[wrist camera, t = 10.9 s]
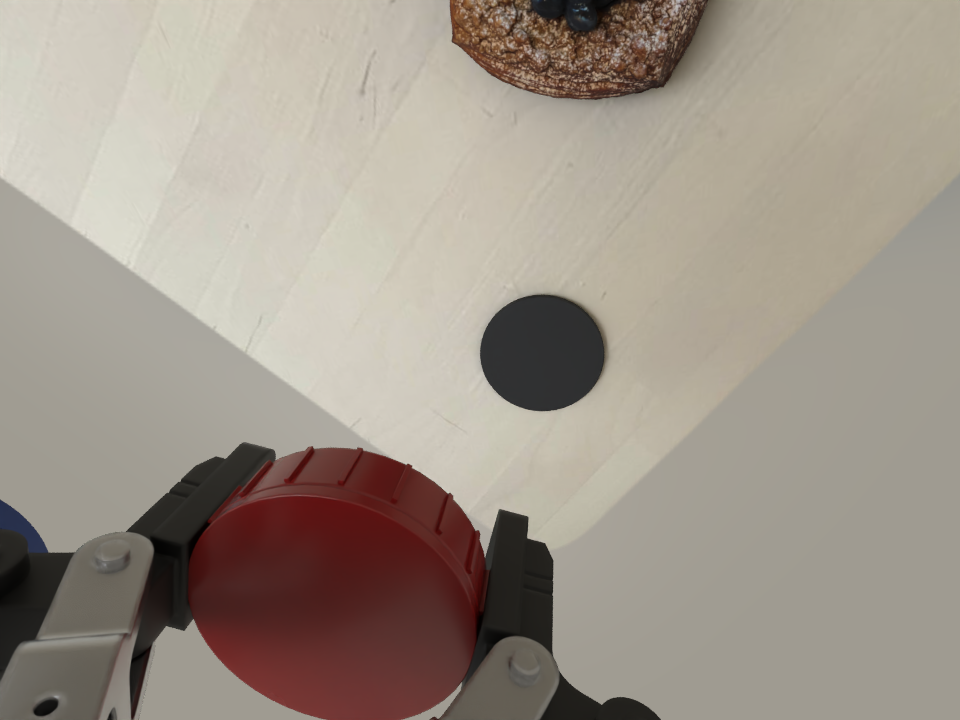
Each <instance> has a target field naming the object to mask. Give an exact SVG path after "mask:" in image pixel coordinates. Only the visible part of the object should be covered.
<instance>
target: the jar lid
mask: <svg viewBox="0 0 960 720" xmlns="http://www.w3.org/2000/svg"><path fill="white" fill-rule="evenodd" d="M208 523H209V524H210V525H209V526H208V527H207V528H206V530H205V531H204V532H203V534H202V535H201V537H200V538H199V540H198V541H197V543H196V544H195V547H194V549H193V551H192V554H191V556H190V560H189V575H188V603H189V606H190V610H191V613H192V616H193V619H194V621H195V623H196V625H197V628H198V630H199V632H200V633H201V635H202V637H203V638H204V640H205V642H206V643H207V645H208V646H209V647H210V649H211V650H212V651H213V653H214V654H215V655H216V656H217V657H218V659H219V660H221V662H222V663H223V664H224V665H225V666H226V667H227V668H228V669H229V670H230V671H231V672H232V673H234V674H235V675H236V676H237V677H238V678H239V679H241V680H242V681H243V682H244V683H246V684H247V685H249V686H250V687H251V688H253V689H254V690H256V691H258V692H259V693H261V694H262V695H264V696H266V697H267V698H269V699H271V700H273V701H275V702H277V703H279V704H281V705H283V706H286V707H288V708H290V709H293V710H295V711H298V712H301V713H303V714H307V715H310V716H314V717H318V718H321V719H326V720H401V719H405V718H409V717H412V716H415V715H418V714H420V713H422V712H425V711H427V710H429V709H431V708H432V707H434V706H436V705H437V704H439V703H440V702H442V701H443V700H445V699H446V698H447V697H448V696H449V695H450V694H451V693H452V692H454V691H455V690H456V688H457V687H458V686H459V685H460V683H461V682H462V681H463V680H464V678H465V676H466V674H467V672H468V669H469V666H470V663H471V659H472V656H473V653H474V649H475V646H476V642H477V638H478V631H479V625H480V619H481V615H482V614H483V611H484V604H485V598H486V591H487V585H488V578H489V572H490V570H486V562H485V557H484V551H483V549H482V546H481V543H480V540H479V539H480V532H479V531H478V530H477V531H475V529H474V527H473V526H472V524H471V522H470V520H469V519H468V518H467V516H466V514H465V513H464V512H463V510H462V509H461V507H460V506H459V505H458V504H457V503H456V502H455V501H454V500H453V495H452V494H451V493H449V494H448V493H446V492H445V491H444V490H443V489H442V488H441V487H440V486H438V485H437V484H436V483H435V482H433V481H432V480H430V479H429V478H428V477H426V476H425V475H423V474H422V473H420V472H418V471H417V470H415V469H413V468H412V465H410V464H407V465H405V464H403V463H401V462H398V461H396V460H393V459H391V458H388V457H386V456H383V455H379V454H375V453H372V452H368V451H363V449H362V448H357V450H356V449H350V448H319V449H314V448H313V446H311V447H308V448H307V449H306V450H305V451H301V452H296V453H293V454H291V455H288V456H285V457H282V458H280V459H278V460H276V461H274V462H271V460H268V461H266V462H265V463H264V464H263V466H262V467H261V468H260V469H259V470H258V471H257V473H256V474H254V475H253V477H252V478H251V479H250V480H249V481H248V482H247V483H246V484H245V485H244V486H243V487H241V486H240V485H239V486H238V487H237V488H236V489H235V491H234V492H233V493H232V494H231V495H230V496H229V497H228V498H227V500H226V501H225V502H224V503H223V504H222V505H221V506H220V507H219V509H218V510H217V511H216V512H215V513H214V514H213V515H212V516H211V518H210V519H209V520H208Z"/></svg>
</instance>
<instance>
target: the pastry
mask: <svg viewBox="0 0 960 720" xmlns="http://www.w3.org/2000/svg"><path fill="white" fill-rule="evenodd" d="M707 2H708V0H450V14H451V22H452V34H453V36H452V42H453V43H454V44H456V45H458V46H459V47H460V48H462V49H463V50H464V51H465V52H466V53H467V54H468V55H469V56H470V57H471V58H473V60H474V61H475V62H476V63H478V64H479V65H480V66H481V67H482V68H484V69H485V70H486V71H487V72H488V73H489V74H491V75H492V76H494V77H496V78H498V79H500V80H501V81H503V82H505V83H508V84H511V85H513V86H515V87H517V88H520V89H524V90H527V91H530V92H533V93H537V94H541V95H546V96H551V97H553V98H572V99H595V100H597V99H602V98H610V97H620V96H625V95H629V94H633V93H641V92H644V91H646V90H649V89H651V88H659V87H664V85H665V84H666V82H667V81H668V80H669V78H670V77H671V75H672V72H673V70H674V69H675V67H676V66H677V64H678V62H679V61H680V59H681V58H682V56H683V55H684V53H685V51H686V49H687V47H688V46H689V44H690V43H691V41H692V39H693V36H694V34H695V32H696V29H697V27H698V24H699V22H700V19H701V17H702V15H703V13H704V10H705V8H706V5H707Z"/></svg>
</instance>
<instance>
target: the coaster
mask: <svg viewBox="0 0 960 720" xmlns="http://www.w3.org/2000/svg"><path fill="white" fill-rule="evenodd" d="M480 358H481V365H482V368H483V372H484V374H485V376H486V378H487V380H488V382H489V384H490V385H491V386H492V387H493V389H494V390H495V391H496V392H497V393H498V394H499V395H500V396H501V397H503V398H504V399H505V400H507V401H508V402H510V403H512V404H514V405H516V406H518V407H521V408H524V409H528V410H533V411H551V410H557V409H561V408H564V407H567V406H569V405H572V404H573V403H575V402H577V401H578V400H580V399H581V398H583V397H584V396H585V395H586V394H587V393H588V392H589V391H590V390H591V389H592V387H593V386H594V385H595V383H596V382H597V380H598V378H599V376H600V373H601V371H602V367H603V362H604V346H603V341H602V337H601V334H600V331H599V329H598V327H597V325H596V324H595V322H594V321H593V319H592V318H591V317H590V316H589V315H588V314H587V313H586V312H585V311H584V310H583V309H582V308H580V307H579V306H577V305H576V304H574V303H572V302H570V301H568V300H566V299H563V298H560V297H556V296H550V295H533V296H528V297H524V298H521V299H518V300H516V301H514V302H511V303H510V304H508V305H506V306H505V307H503V308H502V309H501V310H500V311H499V312H498V313H497V314H496V315H495V316H494V317H493V318H492V320H491V321H490V323H489V324H488V326H487V328H486V330H485V332H484V335H483V338H482V342H481V348H480Z"/></svg>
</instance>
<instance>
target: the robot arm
mask: <svg viewBox="0 0 960 720" xmlns="http://www.w3.org/2000/svg"><path fill="white" fill-rule="evenodd" d="M275 455H276V454H275V451H274V450H273V449H269V448H265V447H261V446H258V445H253V444H249V443H246V442H244V443H242V444H240V445H239V446H238V447H237V448H236V449H235V450H234V451H233V452H232V453H231V454H230V455H229V456H228V457H227V458H226V459H224V458H220V457H214V458H212V459H209V460H207V461H205V462H203V463H201V464H199V465H196V466H195V467H194V468H193V469H192V470H191V471H190V472H189V473H188V474H186V475H185V476H184V477H183V478H182V479H181V482H178V483H177V484H176V485H175V486H174V487H173V488H172V489H171V490H170V492H169V493H166V494H165V495H164V496H163V497H162V498H161V499H160V500H159V501H158V502H157V503H156V504H155V505H154V506H152V507H151V508H150V509H149V510H148V511H147V512H146V513H145V514H144V515H143V516H142V517H141V518H140V519H139V520H138V521H136V522H135V523H134V524H133V525H132V526H131V527H130V528H129V529H128V530H127V531H126V532H115V533H109V534H105V535H102V536H99V537H97V538H94V539H92V540H90V541H88V542H87V543H85V544H84V545H82V546H81V547H80V548H79V549H78V550H77V551H76V552H74V553H29V549H28V542H27V540H26V538H25V537H24V536H23V535H22V534H20V533H18V532H16V531H13V530H7V529H0V720H139V716H140V712H141V707H142V704H143V699H144V695H145V691H146V686H147V682H148V678H149V673H150V669H151V665H152V661H153V656H154V652H155V640H156V638H157V637H158V636H159V634H160V633H161V632H162V631H163V629H164V628H165V627H166V626H168V627H172V628H176V629H180V630H183V631H184V630H185V629H186V628H187V626H188V625H189V624H190V622H191V621H192V620H193V616H192V613H191V610H190V606H189V603H188V575H189V560H190V556H191V554H192V551H193V549H194V547H195V544H196V543H197V541H198V540H199V538H200V537H201V535H202V534H203V532H204V531H205V530H206V528H207V527H208V526H209V525H210V524H209V523H208V520H209V519H210V518H211V516H212V515H213V514H214V513H215V512H216V511H217V510H218V509H219V507H220V506H221V505H222V504H223V503H224V502H225V501H226V500H227V498H228V497H229V496H230V495H231V494H232V493H233V492H234V491H235V489H236V488H237V487H238V486H239V485H240V486H241V487H243V486H244V485H245V484H246V483H247V482H248V481H249V480H250V479H251V478H252V477H253V475H254V474H256V473H257V471H258V470H259V469H260V468H261V467H262V466H263V464H264V463H265V462H266V461H268V460H271V462H274V461H275V459H276V458H275V457H276V456H275ZM527 532H528V516H524V515H520V514H516V513H512V512H509V511H505V510H501V509H499V512H498V515H497V518H496V522H495V525H494V529H493V532H492V536H491V539H490V543H489V546H488V550H487V553H486V557H485V562H486V570H490V572H489V578H488V585H487V591H486V598H485V604H484V611H483V614H482V615H481V619H480V625H479V631H478V638H477V642H476V646H475V649H474V653H473V656H472V659H471V663H470V666H469V669H468V672H467V674H466V676H465V678H464V680H463V681H462V687H461V691H460V692H459V694H458V695H457V696H456V698H455V699H454V701H453V702H452V703H451V705H450V706H449V707H448V709H447V710H446V711H445V713H444V714H443V715H442V716H441V717H440V718H439V719H437V718H436V717H432V718H431V719H430V720H661V719H660V718H659V717H658V716H657V715H656V714H655V713H654V712H653V711H652V710H650V709H649V708H648V707H647V706H645V705H644V704H642V703H640V702H638V701H636V700H633V699H630V698H625V697H617V698H612V699H610V700H607V701H606V702H605V703H604V704H603V705H601V704H599V703H598V702H596V701H594V700H593V699H591V698H589V697H588V696H586V695H584V694H583V693H581V692H580V691H578V690H577V689H575V688H574V687H573V686H572V685H571V684H569V683H568V682H567V680H566V679H565V678H564V677H563V676H562V674H561V673H560V671H559V670H558V666H557V664H556V661H555V660H554V657H553V652H552V627H553V624H552V623H553V619H552V618H553V596H552V593H553V581H552V580H553V559H552V557H551V555H550V553H549V551H548V548H547V546H546V544H545V543H542V542H538V541H535V540H531V539H527Z"/></svg>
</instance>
